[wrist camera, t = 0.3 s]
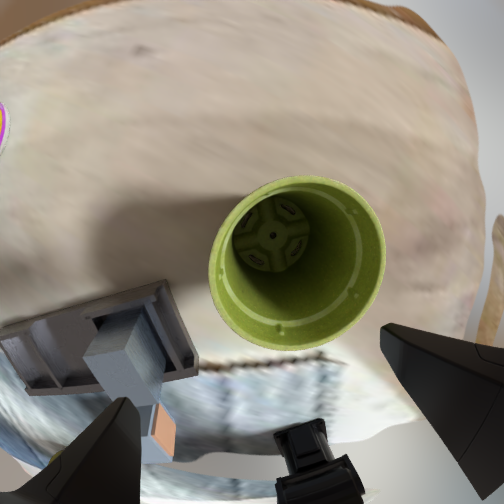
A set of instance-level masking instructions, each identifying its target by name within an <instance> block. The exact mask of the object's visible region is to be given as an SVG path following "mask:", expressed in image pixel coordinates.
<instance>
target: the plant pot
mask: <svg viewBox="0 0 504 504" xmlns="http://www.w3.org/2000/svg"><path fill="white" fill-rule="evenodd" d="M282 204H284V205H287V206H289V207H291V208H292V209H293V210H294V211H295V214H294V215H292V214H291V213H290V212H288V211H287V210H286V209H284V208H283V207H280V205H282ZM249 212H252V216H251V217H250V218H249V220H248V221H247V223H246V225H245V227H244V228H242V226H241V224H242V223H243V221H244V219H245V216H246V215H247V214H248V213H249ZM272 232H275V233H276V237H275V238H274V239H272V238H270V234H271V233H272ZM299 241H301V243H302V244H301V247H300V249H299V250H298V252H297V253H296V254H295V255H293V256H292V255H291V253H292V252H293V251H294V250H295V249H296V247H297V245H298V243H299ZM250 254H252V255H253V256H255V257H256V258H257V259H259V260H262V261H264V264H257V263H256V262H254V261H252V260H251V259H250V258H249V255H250ZM385 262H386V247H385V239H384V235H383V231H382V227H381V225H380V222H379V220H378V218H377V216H376V214H375V212H374V211H373V209H372V208H371V207H370V205H369V204H368V203H367V202H366V200H365V199H364V198H363V197H362V196H361V195H359V194H358V193H357V192H356V191H354V190H353V189H351V188H350V187H348V186H346V185H345V184H343V183H341V182H338V181H336V180H333V179H329V178H325V177H320V176H312V175H299V176H292V177H287V178H282V179H279V180H275V181H273V182H270V183H268V184H266V185H264V186H262V187H260V188H258V189H256V190H255V191H253V192H252V193H250V194H249V195H247V196H246V197H245V198H244V199H243V200H242V201H240V202H239V203H238V204H237V205H236V206H235V207H234V209H233V210H232V211H231V212H230V213H229V215H228V216H227V217H226V219H225V220H224V222H223V223H222V225H221V227H220V229H219V231H218V233H217V235H216V237H215V240H214V242H213V246H212V249H211V253H210V258H209V264H208V279H209V287H210V292H211V296H212V299H213V302H214V305H215V307H216V309H217V311H218V312H219V314H220V316H221V317H222V319H223V320H224V321H225V323H226V324H227V325H228V326H229V327H230V328H231V329H232V330H233V331H234V332H235V333H237V334H238V335H239V336H241V337H242V338H244V339H246V340H247V341H249V342H251V343H253V344H256V345H258V346H261V347H264V348H268V349H273V350H280V351H297V350H305V349H309V348H313V347H317V346H320V345H323V344H325V343H328V342H330V341H332V340H334V339H335V338H337V337H339V336H340V335H342V334H343V333H345V332H346V331H348V330H349V329H350V328H351V327H352V326H353V325H355V324H356V323H357V322H358V321H359V320H360V319H361V318H362V317H363V315H364V314H365V313H366V312H367V310H368V309H369V307H370V306H371V304H372V303H373V301H374V299H375V297H376V295H377V293H378V291H379V288H380V285H381V282H382V279H383V275H384V271H385Z"/></svg>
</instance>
